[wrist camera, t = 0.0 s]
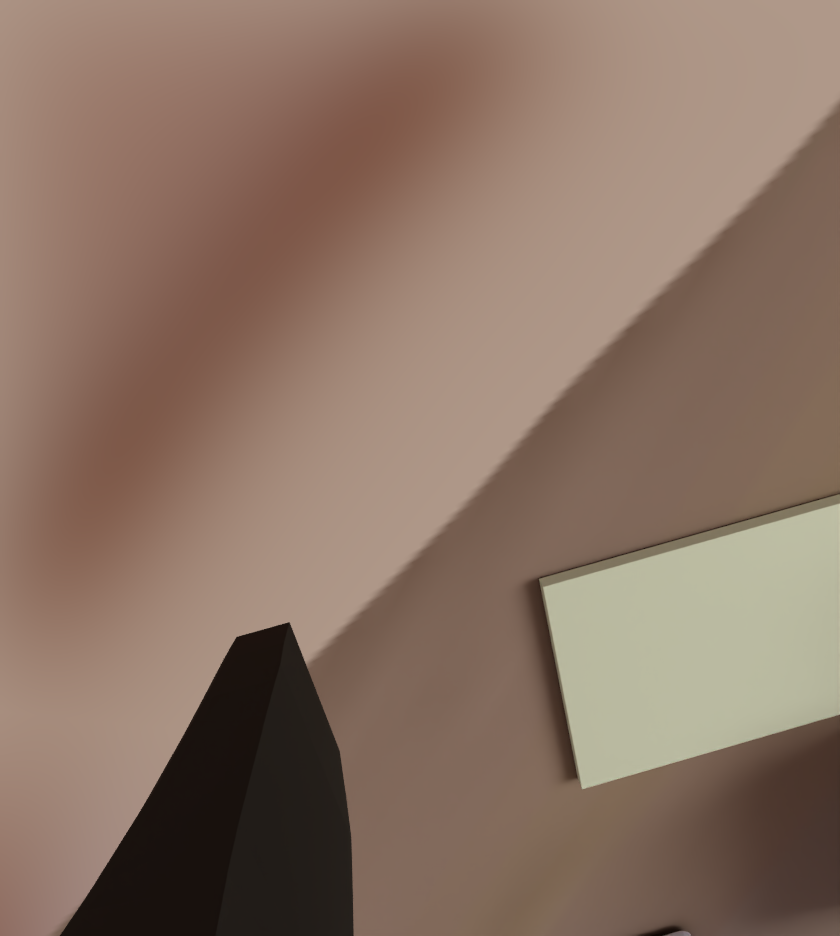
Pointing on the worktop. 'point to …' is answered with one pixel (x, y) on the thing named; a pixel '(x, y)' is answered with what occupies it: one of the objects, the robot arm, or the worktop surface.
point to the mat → (699, 641)
